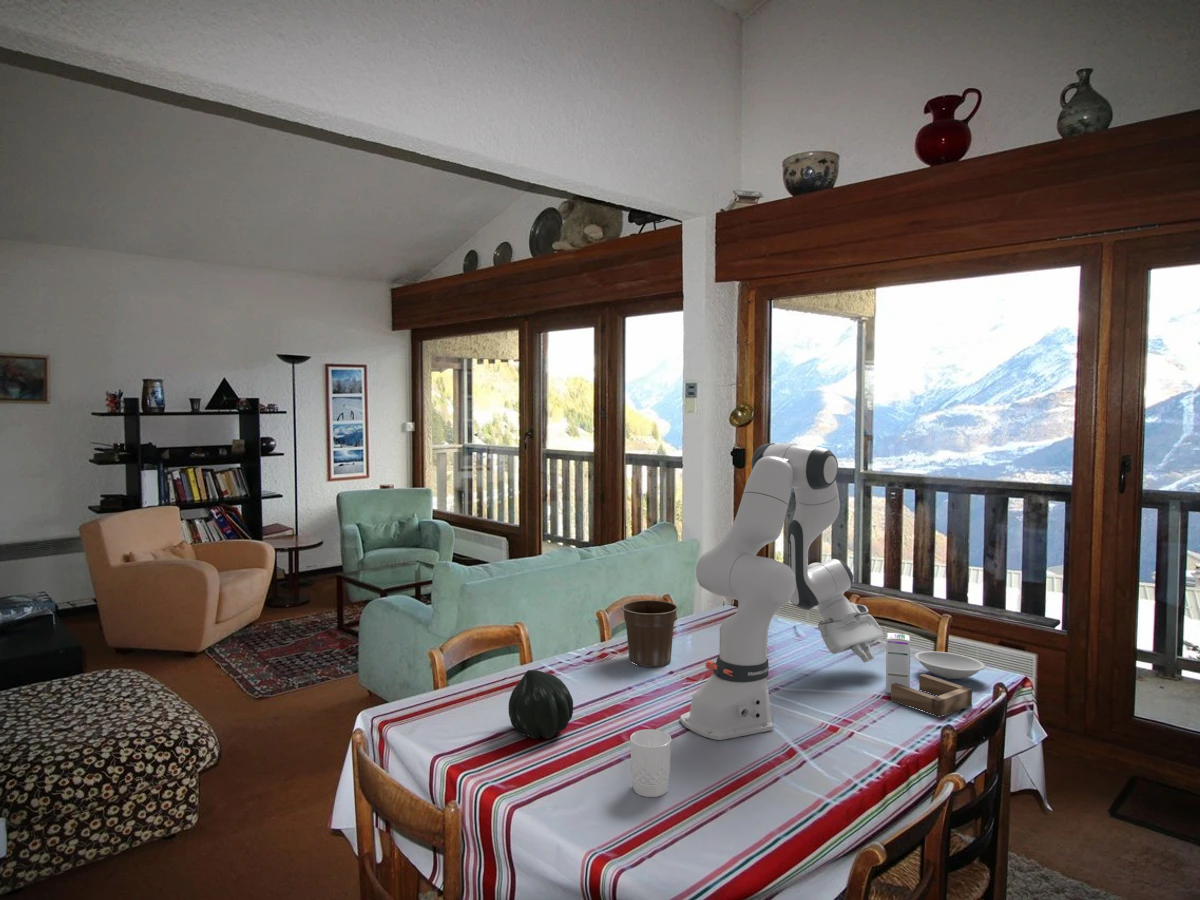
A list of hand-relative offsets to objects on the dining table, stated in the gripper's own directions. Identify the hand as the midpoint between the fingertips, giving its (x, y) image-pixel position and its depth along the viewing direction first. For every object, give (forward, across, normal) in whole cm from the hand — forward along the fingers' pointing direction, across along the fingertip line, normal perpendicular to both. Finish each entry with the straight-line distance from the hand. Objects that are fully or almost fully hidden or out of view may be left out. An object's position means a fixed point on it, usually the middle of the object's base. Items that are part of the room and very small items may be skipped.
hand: (869, 660), depth 202 cm
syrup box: (+10, 0, -2) cm, 11 cm away
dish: (+12, +20, -4) cm, 23 cm away
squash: (-11, -90, +18) cm, 93 cm away
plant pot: (-28, -40, +36) cm, 61 cm away
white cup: (+13, -85, -6) cm, 86 cm away
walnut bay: (+17, 0, -9) cm, 19 cm away
